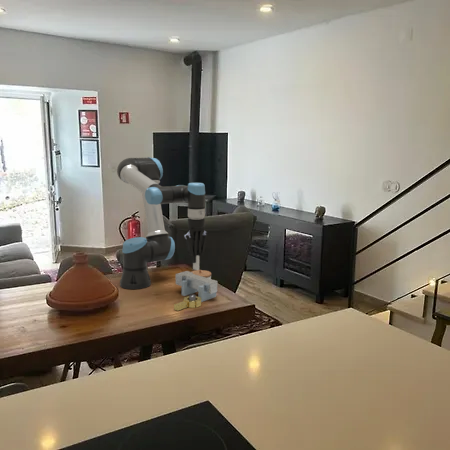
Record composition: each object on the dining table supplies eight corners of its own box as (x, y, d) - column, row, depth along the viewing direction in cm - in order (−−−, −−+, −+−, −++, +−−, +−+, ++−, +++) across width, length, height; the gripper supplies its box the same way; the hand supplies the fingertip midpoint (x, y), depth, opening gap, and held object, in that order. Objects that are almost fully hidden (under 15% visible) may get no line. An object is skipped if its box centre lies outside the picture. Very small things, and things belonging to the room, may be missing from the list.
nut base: (177, 307, 191) (177, 295, 190) (192, 302, 198) (192, 290, 197) (192, 312, 185) (192, 300, 184) (206, 307, 192) (207, 295, 191)
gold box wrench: (192, 300, 196) (192, 294, 196) (204, 304, 192) (204, 298, 191) (169, 308, 187) (169, 302, 186) (182, 312, 182) (182, 306, 181)
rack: (180, 297, 204) (180, 280, 203) (194, 292, 211) (194, 276, 210) (203, 305, 194) (203, 287, 193) (217, 299, 201) (218, 283, 200)
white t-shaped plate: (175, 284, 207) (175, 273, 206) (186, 280, 212) (186, 270, 211) (208, 294, 193) (208, 283, 192) (219, 291, 198) (219, 280, 197)
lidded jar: (210, 292, 212) (210, 273, 210) (188, 291, 212) (188, 272, 210) (211, 285, 222) (211, 267, 221) (190, 284, 223) (190, 266, 221)
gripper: (189, 220, 187) (189, 273, 192) (213, 217, 196) (212, 268, 200) (179, 218, 193) (179, 270, 197) (202, 215, 201) (202, 265, 206)
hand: (196, 269), depth 199 cm, fingers closed
